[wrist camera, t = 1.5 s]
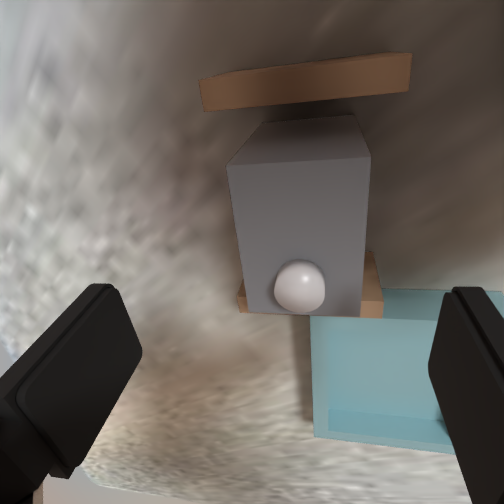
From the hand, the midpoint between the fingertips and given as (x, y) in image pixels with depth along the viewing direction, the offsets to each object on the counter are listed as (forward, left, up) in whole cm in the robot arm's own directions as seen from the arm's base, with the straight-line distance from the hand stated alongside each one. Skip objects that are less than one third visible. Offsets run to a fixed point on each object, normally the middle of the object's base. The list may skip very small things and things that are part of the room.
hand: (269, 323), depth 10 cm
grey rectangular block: (-1, 0, -12) cm, 12 cm away
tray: (-7, +15, -12) cm, 20 cm away
